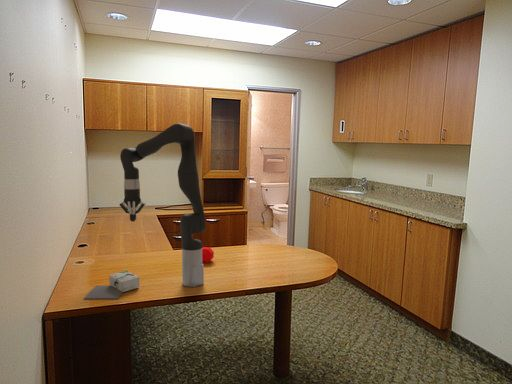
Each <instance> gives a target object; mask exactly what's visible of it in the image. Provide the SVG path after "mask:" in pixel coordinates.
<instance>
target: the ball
mask: <svg viewBox="0 0 512 384" xmlns="http://www.w3.org/2000/svg"><path fill="white" fill-rule="evenodd" d="M214 257H215V254H214V250H213V249H212V248H211V247H207V246H202V264H204V263H205V264H208V263H210V262H211V261H212V260H213V259H214Z"/></svg>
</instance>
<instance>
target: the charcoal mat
mask: <svg viewBox="0 0 512 384" xmlns="http://www.w3.org/2000/svg"><path fill="white" fill-rule="evenodd" d="M123 293H124V292H122V291H120V290H118V289H116V288H115V287H113V286H111V285H95V286H94V287H93V288H92V289H91V290H90V292H88V293H87V294H86V295H85V296H84V298H83V300H119V298H120V297H121V296H122V294H123Z"/></svg>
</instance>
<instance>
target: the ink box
mask: <svg viewBox="0 0 512 384" xmlns="http://www.w3.org/2000/svg"><path fill="white" fill-rule="evenodd" d="M109 286H113V287H115V288H116V289H118V290H120V291H122V292H123V293H124V292H129V291H131V290H135V289H138V288H140V277H139V276H138V275H136V274H134V273H132V272H130V271H128V270H122V271H120V272H119V271H118V272H116V273H112V274H109Z"/></svg>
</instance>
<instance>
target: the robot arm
mask: <svg viewBox="0 0 512 384" xmlns="http://www.w3.org/2000/svg"><path fill="white" fill-rule="evenodd" d="M194 132H195V131H194V129H193V128H192V126H190V125H187V124H184V123H182V122H181V123H179V122H177V123H174V124H172V125H170V126H169V127H167V128H166V129H164V130H163V131H161V132H159V134H156V135H155V136H154V137H152V138H149V139H147V140H144V141H142V142H140V143H138V144H137V146H135V147H126V148H123V149H122V150H121V151H120V156H119V157H120V162H121V165H122V169H123V172H124V173H123V177H124V180H123V189H124V190H123V192H124V199H123V201H122V202H121V203H119V206H120V207H121V209H122V210H123V211H124V212H125V213H126V214H128V215H129V221H131V222H133V223H134V222H135V221H136V220H137V214H139V213H140V212H141V211H142V210H143V208H144V207H145V205H146V202H143V201H142V199H141V187H140V186H141V184H140V172H139V168H138V167H137V166H135V165H134V163H136V162H140V161H141V160H143V159H145V158H147V157H149V156H151V155H154V154H156V153H157V152H159V151H160V150H161V149H162V148H163V147H164V146H166V145H169V144H170V145H171V144H173V143H176V144H179V146H180V152H181V158H180V162H179V165H178V168H177V178H178V186H179V189H180V190H181V192H182V193H183V194H184V195H185V197H186V198H187V199H188V201H189V202H190V205H191V207H192V211H193V212H192V213H184V214H182V215H181V217H180V220H179V222H180V223H179V227H180V229H179V230H180V241H181V242H180V243H181V261H182V262H181V267H182V268H181V270H182V273H181V274H182V280H181V281H182V285H183V286H185V287H189V288H196V287H198V286H201V285H204V283H205V280H204V278H205V277H204V276H205V275H204V274H205V273H204V268H205V267H204V265H205V264H204V263H203V262H202V248H203V241H202V240H200V239H197V238H196V239H195V238H193V234H199V233H203V232H205V230H206V226H207V221H206V216H205V211H204V206H203V202H202V195H201V190H200V180H199V174H198V168H197V167H198V166H197V158H196V145H195V144H196V142H195V133H194ZM138 207H139V208H138ZM137 208H138V209H137Z"/></svg>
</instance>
